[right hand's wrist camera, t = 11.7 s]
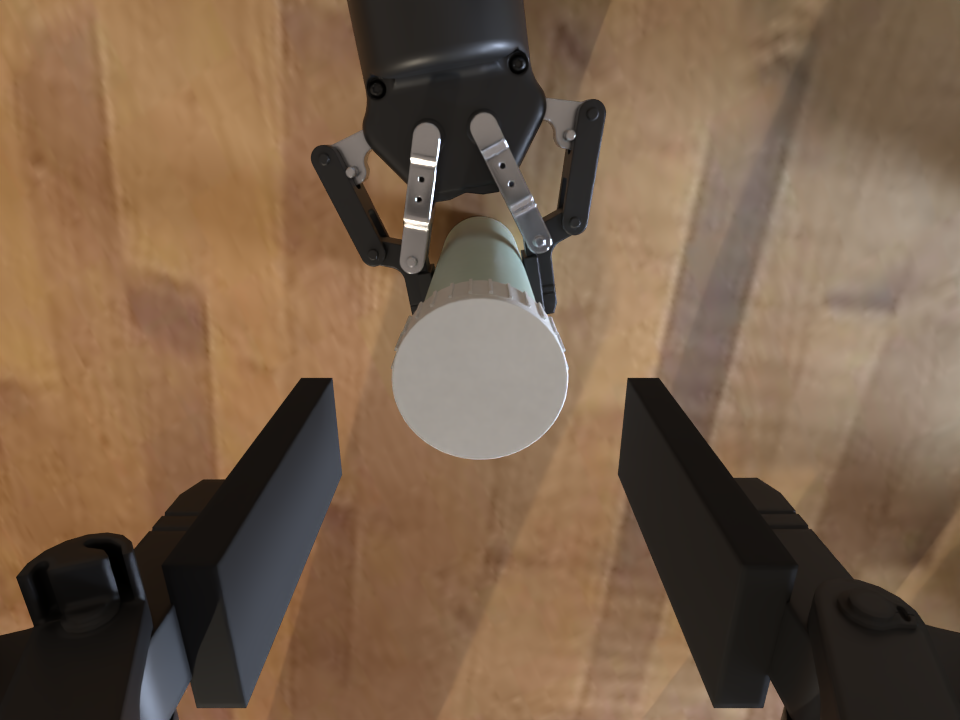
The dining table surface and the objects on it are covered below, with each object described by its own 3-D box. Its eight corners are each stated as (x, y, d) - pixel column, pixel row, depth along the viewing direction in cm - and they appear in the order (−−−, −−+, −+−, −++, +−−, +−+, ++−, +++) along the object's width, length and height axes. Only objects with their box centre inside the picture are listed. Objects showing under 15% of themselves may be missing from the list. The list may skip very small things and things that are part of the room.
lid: (572, 412, 20) (583, 443, 18) (422, 442, 20) (415, 476, 18) (545, 261, 18) (553, 276, 16) (379, 297, 18) (367, 317, 16)
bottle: (523, 282, 36) (568, 429, 18) (452, 297, 37) (424, 457, 18) (509, 208, 35) (541, 288, 16) (434, 225, 35) (384, 321, 17)
